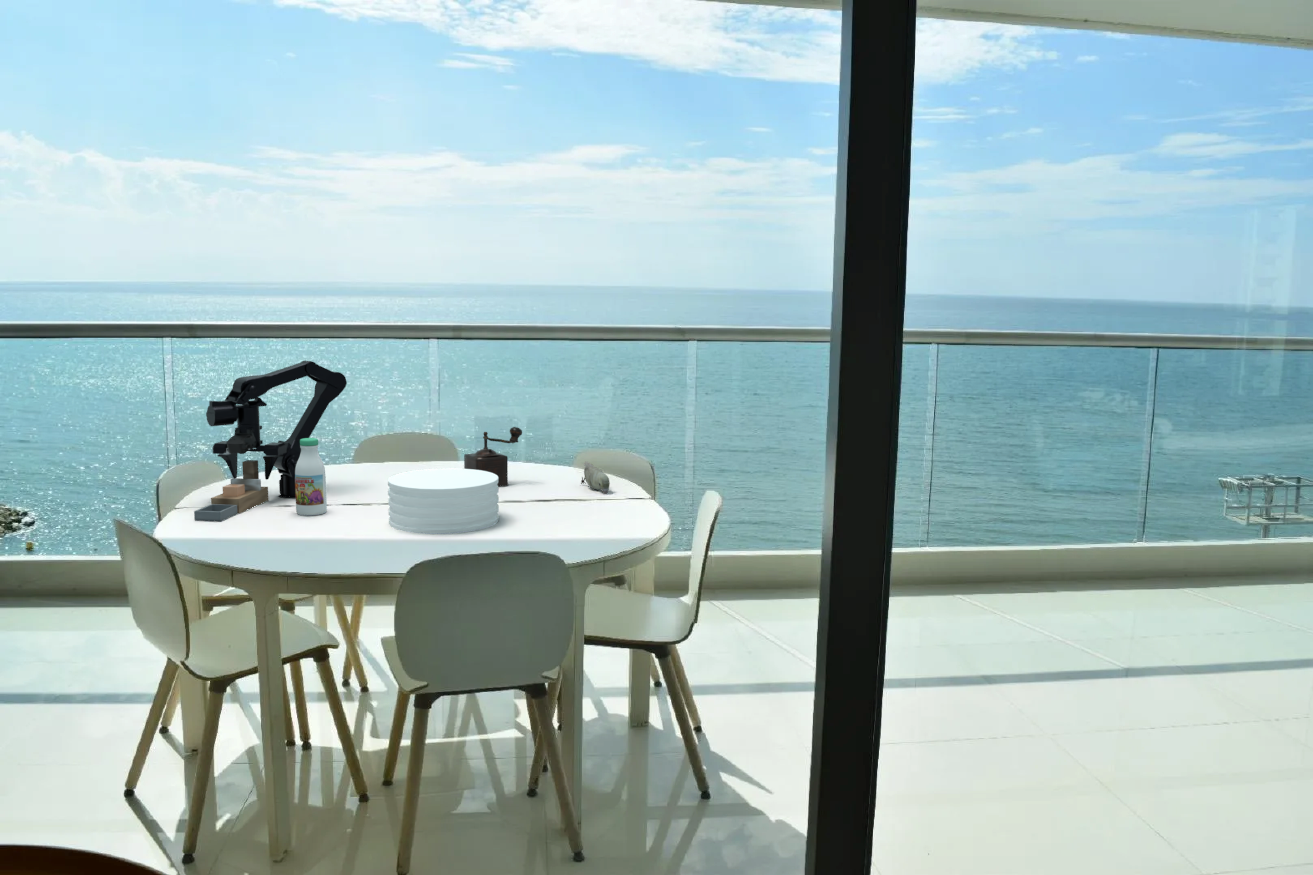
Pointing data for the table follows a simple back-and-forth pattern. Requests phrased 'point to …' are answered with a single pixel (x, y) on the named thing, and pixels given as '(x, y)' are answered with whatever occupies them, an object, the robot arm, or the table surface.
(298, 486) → the milk bottle
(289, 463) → the robot arm
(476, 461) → the manual coffee grinder
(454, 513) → the plate stack
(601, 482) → the decorative bird
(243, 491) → the terracotta tile
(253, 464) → the grey block with post
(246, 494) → the walnut board
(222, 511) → the box
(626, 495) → the table surface
